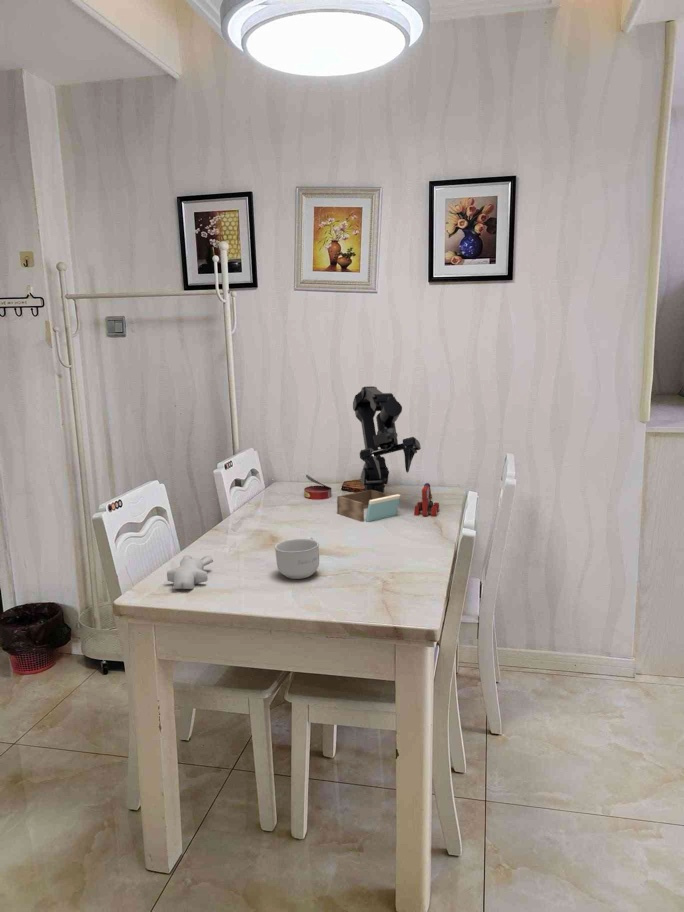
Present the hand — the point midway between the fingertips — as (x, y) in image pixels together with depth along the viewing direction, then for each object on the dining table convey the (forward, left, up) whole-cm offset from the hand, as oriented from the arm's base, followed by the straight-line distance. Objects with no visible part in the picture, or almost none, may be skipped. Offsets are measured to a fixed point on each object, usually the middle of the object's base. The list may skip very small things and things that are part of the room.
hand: (393, 475), depth 211 cm
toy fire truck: (+4, +11, -15) cm, 19 cm away
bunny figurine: (+7, -73, -15) cm, 75 cm away
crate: (-7, -5, -14) cm, 17 cm away
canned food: (-40, 0, -15) cm, 43 cm away
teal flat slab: (0, -5, -13) cm, 14 cm away
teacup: (+20, -50, -15) cm, 55 cm away
